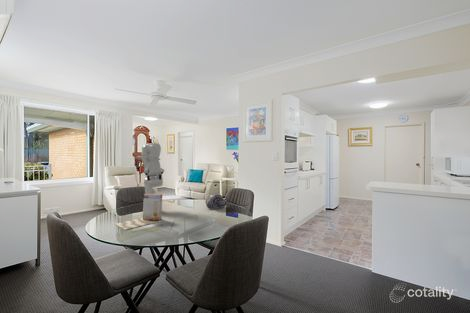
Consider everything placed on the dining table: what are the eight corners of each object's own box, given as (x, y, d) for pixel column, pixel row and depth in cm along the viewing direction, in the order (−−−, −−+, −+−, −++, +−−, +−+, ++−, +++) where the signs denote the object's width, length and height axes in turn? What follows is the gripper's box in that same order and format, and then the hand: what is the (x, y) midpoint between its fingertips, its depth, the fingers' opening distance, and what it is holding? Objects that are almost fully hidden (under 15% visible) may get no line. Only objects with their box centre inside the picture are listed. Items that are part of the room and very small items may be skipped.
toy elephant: (223, 207, 244) (221, 192, 246) (230, 207, 228) (228, 191, 230) (205, 210, 235) (203, 195, 237) (210, 210, 220) (208, 194, 222)
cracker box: (161, 218, 196) (162, 193, 197) (158, 220, 190) (159, 194, 191) (145, 218, 198) (146, 193, 198) (142, 219, 192) (143, 194, 192)
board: (142, 218, 198) (142, 217, 198) (153, 223, 184) (153, 222, 184) (114, 224, 182) (114, 223, 182) (125, 230, 168) (125, 229, 168)
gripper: (162, 159, 208) (162, 178, 208) (142, 160, 197) (142, 180, 197) (165, 159, 202) (165, 179, 202) (145, 160, 191) (145, 181, 191)
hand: (154, 180), depth 199 cm, fingers open, 9 cm apart
